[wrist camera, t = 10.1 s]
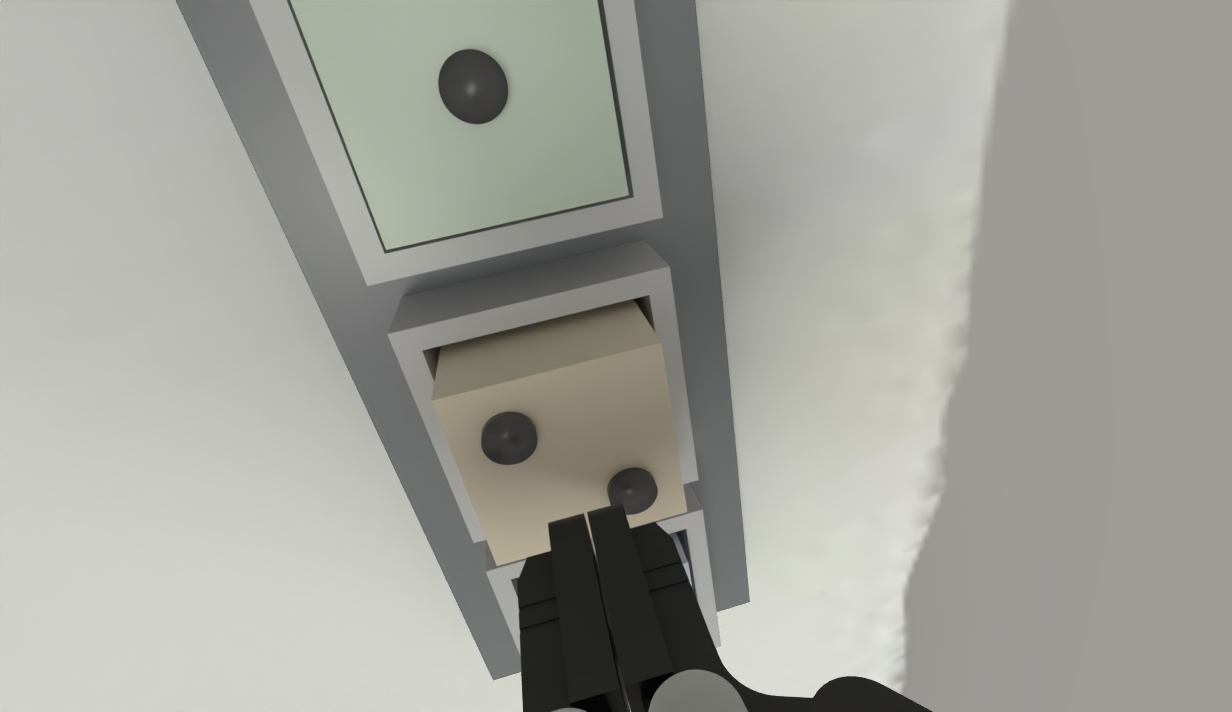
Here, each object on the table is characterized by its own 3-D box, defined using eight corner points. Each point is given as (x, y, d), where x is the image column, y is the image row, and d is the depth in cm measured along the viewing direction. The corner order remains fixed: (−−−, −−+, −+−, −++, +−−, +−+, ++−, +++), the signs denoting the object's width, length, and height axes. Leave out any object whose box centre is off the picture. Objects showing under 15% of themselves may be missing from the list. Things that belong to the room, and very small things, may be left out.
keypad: (160, -120, 12) (0, -215, 8) (648, -196, 13) (717, -313, 9) (493, 636, 24) (493, 744, 20) (731, 565, 25) (776, 655, 21)
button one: (325, -22, 12) (261, -60, 8) (557, -63, 12) (582, -114, 9) (408, 212, 14) (383, 254, 11) (599, 170, 15) (632, 197, 11)
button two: (443, 333, 15) (429, 408, 11) (626, 288, 15) (665, 348, 12) (495, 478, 17) (497, 575, 14) (652, 435, 18) (691, 519, 14)
